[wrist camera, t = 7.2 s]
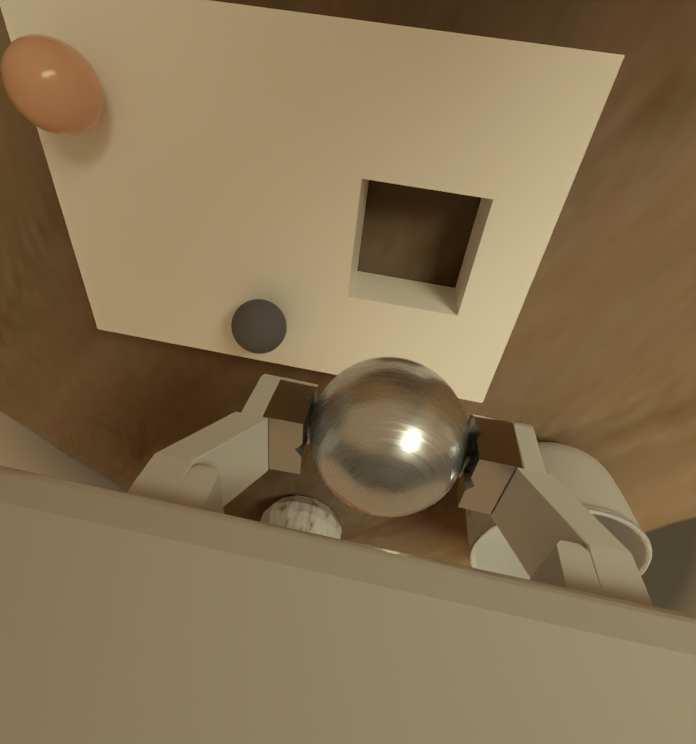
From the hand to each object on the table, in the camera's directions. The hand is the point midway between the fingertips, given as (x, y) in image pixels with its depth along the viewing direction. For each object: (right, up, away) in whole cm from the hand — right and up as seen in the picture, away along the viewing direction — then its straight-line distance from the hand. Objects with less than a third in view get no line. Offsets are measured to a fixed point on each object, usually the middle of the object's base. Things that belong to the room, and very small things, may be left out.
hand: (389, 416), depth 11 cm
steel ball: (0, 0, 0) cm, 1 cm away
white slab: (-4, +10, +13) cm, 17 cm away
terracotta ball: (-13, +13, +6) cm, 20 cm away
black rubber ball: (-6, +4, +12) cm, 14 cm away
